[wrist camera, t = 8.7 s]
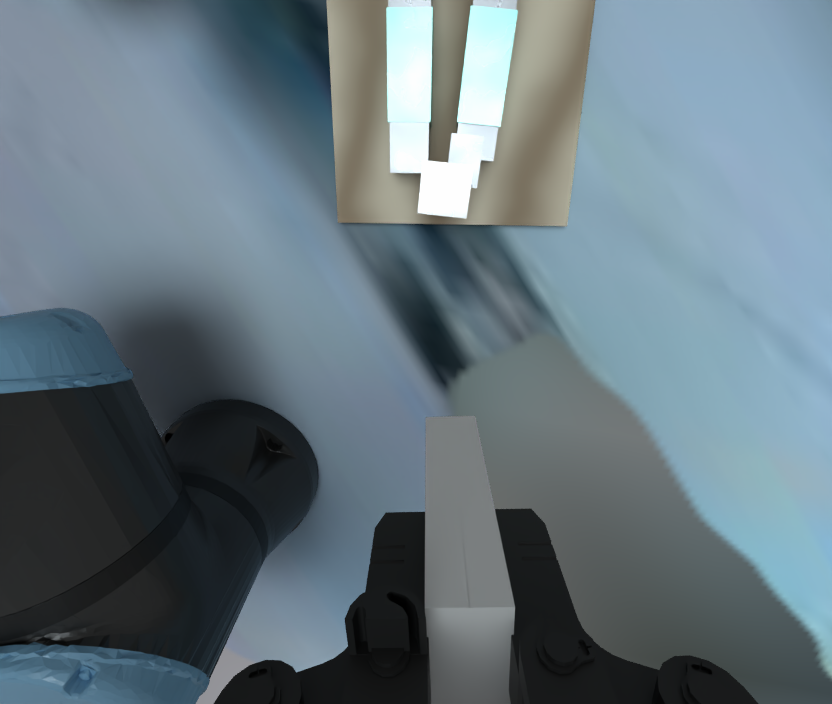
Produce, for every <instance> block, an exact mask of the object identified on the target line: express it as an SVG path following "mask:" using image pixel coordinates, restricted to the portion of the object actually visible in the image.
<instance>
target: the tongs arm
mask: <svg viewBox="0 0 832 704" xmlns="http://www.w3.org/2000/svg"><path fill="white" fill-rule="evenodd" d="M516 6H517V0H473V3H472V6H471V9H470V16H469V23H468V31H467V40H466V48H465V56H464V65H463V73H462V82H461V90H460V98H459V107H458V115H457V123H456V127H457V134H456V133H452V134H451V143H450V151H449V160H448V163H444V162H435V161H425V160H423V163H422V173H421V183H420V193H419V204H418V213H420V214H429V215H438V216H447V217H456V218H465V219H466V218H467V211H468V203H469V196H470V189H471V188H477V184H478V177H479V170H480V163H481V162H486V163H490V162H493V160H494V153H495V146H496V140H497V133H498V128H499V127H500V126H501V119H502V113H503V106H504V99H505V93H506V86H507V80H508V73H509V66H510V60H511V53H512V47H513V40H514V33H515V27H516V20H517V14H518V10H516Z"/></svg>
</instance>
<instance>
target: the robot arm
mask: <svg viewBox="0 0 832 704" xmlns="http://www.w3.org/2000/svg"><path fill="white" fill-rule="evenodd" d="M131 378H133V373H132V371H131V370H130V369H128V368H126V367H125V366H124V364H123V363H122V361H121V359H120V358H119V356H118V354H117V352H116V351H115V349H114V347H113V345H112V344H111V342H110V340H109V338H108V337H107V335H106V333H105V331H104V330H103V328H102V327H101V325H100V324H99V323H98V322H97V321H96V320H95V319H94V318H92V317H91V316H89V315H88V314H86V313H83V312H81V311H78V310H74V309H68V308H54V309H46V310H39V311H32V312H26V313H20V314H14V315H8V316H2V317H0V704H196V702H197V700H198V698H199V696H200V695H202V694H203V692H205V691H206V689H207V687H208V685H209V681H210V680H209V679H210V677H211V675H212V673H213V670H214V668H215V666H216V664H217V662H218V660H219V657H220V655H221V653H222V651H223V649H224V646H225V644H226V642H227V640H228V638H229V636H230V633H231V631H232V629H233V627H234V625H235V622H236V620H237V618H238V616H239V614H240V612H241V609H242V607H243V605H244V603H245V601H246V598H247V596H248V594H249V592H250V590H251V588H252V585H253V583H254V581H255V579H256V577H257V574H258V572H259V570H260V568H261V566H262V564H263V562H264V560H265V558H266V557H267V556H268V555H269V554H270V553H271V552H272V551H273V550H274V549H275V548H276V547H277V546H278V545H279V544H280V543H281V542H282V541H283V540H284V539H285V538H286V536H287V535H288V534H289V533H291V532H292V531H293V530H294V529H295V528H297V527H298V525H299V524H300V523H301V522H302V520H303V519H304V517H305V516H306V514H307V512H308V510H309V508H310V506H311V503H312V501H313V498H314V496H315V493H316V490H317V485H318V469H317V464H316V460H315V457H314V455H313V452H312V450H311V448H310V446H309V445H308V443H307V441H306V440H305V438H304V437H303V436H302V435H301V433H300V432H299V431H298V430H297V429H296V428H295V427H294V426H293V425H292V424H290V423H289V422H288V421H287V420H285V419H284V418H283V417H281V416H280V415H278V414H276V413H275V412H273V411H271V410H269V409H267V408H264V407H262V406H259V405H256V404H253V403H249V402H245V401H238V400H218V401H212V402H207V403H204V404H201V405H199V406H196V407H194V408H192V409H191V410H189V411H188V412H186V413H185V414H184V415H182V416H181V417H180V418H179V419H178V420H177V421H176V422H175V423H174V424H172V425H171V426H170V427H169V428H168V429H167V430H166V432H165V433H164V434H163V436H162V437H161V438H160V436H159V434H158V432H157V430H156V428H155V426H154V424H153V422H152V420H151V418H150V416H149V414H148V412H147V410H146V408H145V406H144V404H143V402H142V400H141V398H140V396H139V394H138V392H137V390H136V388H135V386H134V384H133V382H132V380H131ZM345 625H346V633H347V641H348V647H347V648H346V649H345V650H344V651H343V652H342V653H341V654H339V655H338V656H337V657H335V658H334V659H332V660H329V661H327V662H325V663H323V664H320V665H317V666H314V667H311V668H309V669H306V670H303V671H300V672H297V673H296V672H295V670H294V668H293V667H292V666H290V665H288V664H286V663H284V662H282V661H279V660H264V661H261V662H258V663H255V664H252V665H250V666H248V667H247V668H245V669H244V670H242V671H241V672H240V673H238V674H237V675H235V676H234V677H233V678H232V679H231V681H230V682H229V683H228V684H227V685H226V687H225V688H224V689H223V690H222V691H221V693H220V695H219V696H218V698H217V699H216V701H215V703H214V704H510V703H511V704H758V703H757V702H756V701H755V700H754V698H753V697H752V696H751V695H750V694H749V692H747V690H746V689H745V688H744V687H743V686H742V685H741V684H740V683H739V682H737V680H736V679H734V678H733V677H732V676H731V675H730V674H729V673H728V672H727V671H725V670H723V669H722V668H720V667H718V666H716V665H715V664H713V663H711V662H709V661H707V660H704V659H700V658H697V657H693V656H674V657H672V658H670V659H669V660H667V661H666V662H664V663H663V664H662V666H661V668H660V670H657V669H653V668H650V667H647V666H643V665H640V664H637V663H633V662H630V661H627V660H624V659H622V658H619V657H617V656H614V655H612V654H611V653H609V652H607V651H606V650H604V649H603V648H601V647H600V646H599V645H597V644H596V643H595V642H594V641H593V639H592V638H591V637H590V636H589V635H588V634H587V633H586V632H585V631H584V629H583V628H582V626H581V624H580V622H579V620H578V618H577V615H576V613H575V610H574V607H573V604H572V601H571V598H570V595H569V592H568V589H567V586H566V583H565V581H564V578H563V575H562V572H561V569H560V566H559V563H558V560H557V559H556V554H555V551H554V549H553V546H552V545H551V540H550V537H549V534H548V531H547V528H546V525H545V523H544V522H543V521H542V520H541V519H540V518H539V517H538V516H537V515H536V514H535V513H534V511H533V510H532V509H495V508H494V503H493V499H492V494H491V489H490V484H489V479H488V475H487V470H486V465H485V460H484V455H483V450H482V445H481V441H480V436H479V431H478V426H477V421H476V416H448V417H426V464H425V512H395V513H385V514H384V516H383V517H382V519H381V520H380V522H379V523H378V524H377V526H376V527H375V532H374V538H373V545H372V552H371V558H370V565H369V571H368V578H367V585H366V591H365V593H363V594H361V595H360V596H359V597H358V598H357V599H356V600H355V601H354V602H353V603H352V604H351V605H350V608H349V610H348V613H347V615H346V617H345Z"/></svg>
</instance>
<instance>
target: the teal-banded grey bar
mask: <svg viewBox="0 0 832 704" xmlns="http://www.w3.org/2000/svg"><path fill="white" fill-rule="evenodd" d="M433 50H434V18H433V0H388V8H387V91H388V122H389V123H390V173H422V163H423V160H425V161H430V128H431V127H432V100H433Z"/></svg>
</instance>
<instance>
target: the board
mask: <svg viewBox="0 0 832 704" xmlns="http://www.w3.org/2000/svg"><path fill="white" fill-rule="evenodd" d="M472 3H473V0H433V18H434V50H433V100H432V127H431V128H430V161H435V162H444V163H448V160H449V151H450V143H451V134H452V133H456V134H457V127H456V123H457V115H458V107H459V98H460V90H461V82H462V73H463V65H464V56H465V48H466V40H467V31H468V23H469V16H470V9H471V6H472ZM594 7H595V0H517V6H516V10H518V14H517V20H516V27H515V33H514V40H513V47H512V53H511V60H510V66H509V73H508V80H507V86H506V93H505V99H504V106H503V113H502V119H501V126H500V127H499V128H498V133H497V140H496V146H495V153H494V160H493V162H490V163H486V162H481V163H480V170H479V177H478V184H477V188H471V189H470V196H469V203H468V211H467V218H466V219H465V218H456V217H447V216H438V215H429V214H420V213H418V204H419V193H420V183H421V173H390V123H389V122H388V91H387V8H388V0H327V17H328V36H329V56H330V75H331V95H332V115H333V134H334V154H335V173H336V193H337V213H338V223H401V224H464V225H527V226H567V222H568V214H569V206H570V198H571V190H572V182H573V174H574V166H575V158H576V150H577V142H578V134H579V126H580V118H581V110H582V102H583V94H584V86H585V78H586V71H587V63H588V55H589V47H590V39H591V31H592V23H593V15H594Z"/></svg>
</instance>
